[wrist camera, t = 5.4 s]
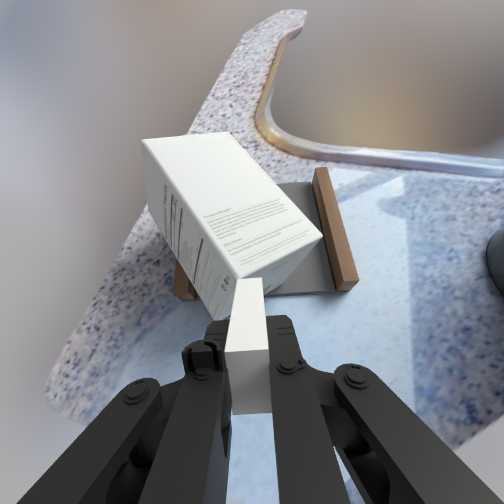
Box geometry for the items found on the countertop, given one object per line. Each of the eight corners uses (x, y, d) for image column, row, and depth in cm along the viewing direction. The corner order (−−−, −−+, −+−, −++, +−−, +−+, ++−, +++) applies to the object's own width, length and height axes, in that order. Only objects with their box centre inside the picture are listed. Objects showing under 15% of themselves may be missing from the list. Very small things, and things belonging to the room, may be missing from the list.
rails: (322, 183, 33) (326, 166, 31) (349, 290, 25) (359, 280, 23) (193, 193, 34) (187, 177, 31) (182, 300, 26) (172, 291, 23)
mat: (309, 184, 33) (310, 181, 33) (333, 291, 26) (335, 289, 25) (205, 192, 34) (204, 189, 33) (197, 299, 26) (196, 298, 25)
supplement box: (284, 284, 26) (215, 193, 31) (327, 235, 19) (229, 128, 24) (213, 326, 21) (146, 211, 26) (235, 281, 14) (138, 135, 19)
